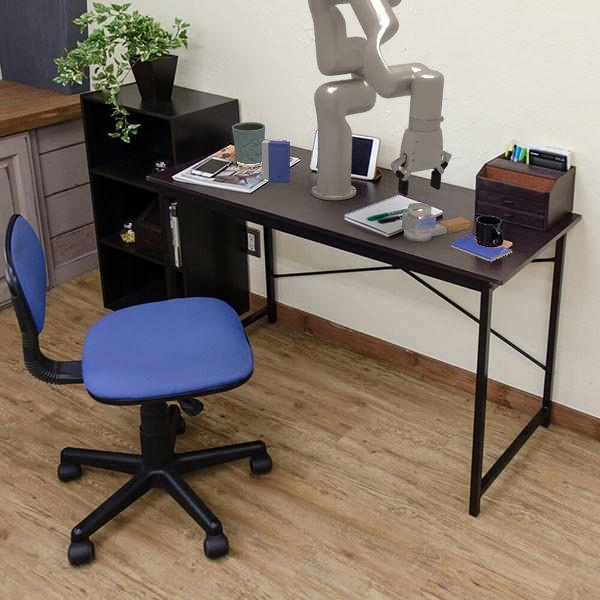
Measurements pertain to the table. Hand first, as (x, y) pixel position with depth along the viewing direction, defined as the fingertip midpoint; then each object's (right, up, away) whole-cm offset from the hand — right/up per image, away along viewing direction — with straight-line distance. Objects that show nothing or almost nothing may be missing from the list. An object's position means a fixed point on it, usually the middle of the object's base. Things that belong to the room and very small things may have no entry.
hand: (419, 191), depth 228 cm
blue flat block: (+15, -15, -2) cm, 21 cm away
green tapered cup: (-45, +15, +58) cm, 75 cm away
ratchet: (+5, -10, +7) cm, 13 cm away
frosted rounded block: (0, -9, +4) cm, 10 cm away
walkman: (-36, +8, +44) cm, 58 cm away
